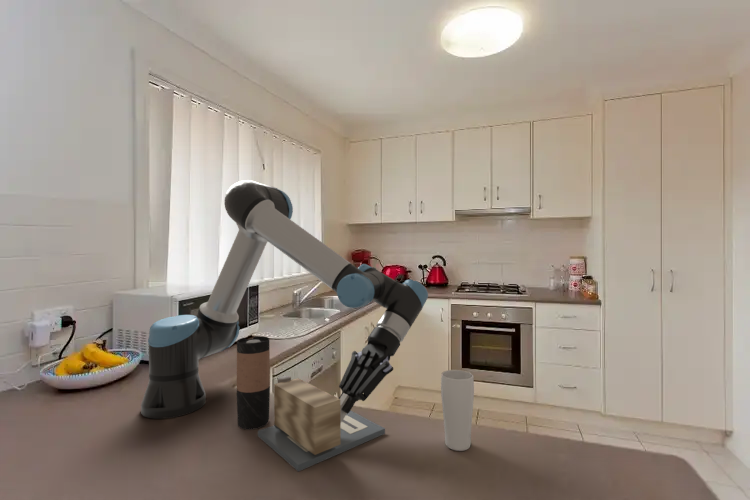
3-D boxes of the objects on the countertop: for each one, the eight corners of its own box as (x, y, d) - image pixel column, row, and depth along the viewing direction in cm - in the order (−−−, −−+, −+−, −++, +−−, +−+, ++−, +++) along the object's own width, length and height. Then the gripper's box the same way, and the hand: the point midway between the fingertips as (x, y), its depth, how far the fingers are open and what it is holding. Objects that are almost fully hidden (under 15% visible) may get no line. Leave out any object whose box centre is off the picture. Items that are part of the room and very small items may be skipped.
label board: (255, 434, 84) (255, 425, 84) (335, 407, 99) (335, 399, 99) (298, 471, 70) (298, 460, 70) (384, 433, 84) (384, 424, 84)
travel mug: (260, 431, 86) (259, 344, 86) (230, 428, 87) (229, 342, 87) (275, 417, 93) (275, 336, 93) (247, 414, 95) (247, 335, 95)
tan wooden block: (269, 420, 86) (269, 379, 86) (292, 413, 90) (292, 373, 90) (314, 455, 71) (314, 405, 71) (340, 444, 75) (340, 397, 75)
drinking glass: (453, 434, 84) (452, 367, 84) (480, 445, 79) (480, 374, 79) (435, 445, 79) (434, 374, 79) (462, 458, 74) (462, 382, 74)
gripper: (415, 348, 89) (360, 443, 77) (378, 339, 98) (325, 422, 87) (399, 329, 85) (339, 425, 74) (362, 321, 95) (305, 405, 84)
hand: (332, 423), depth 81 cm, fingers closed
